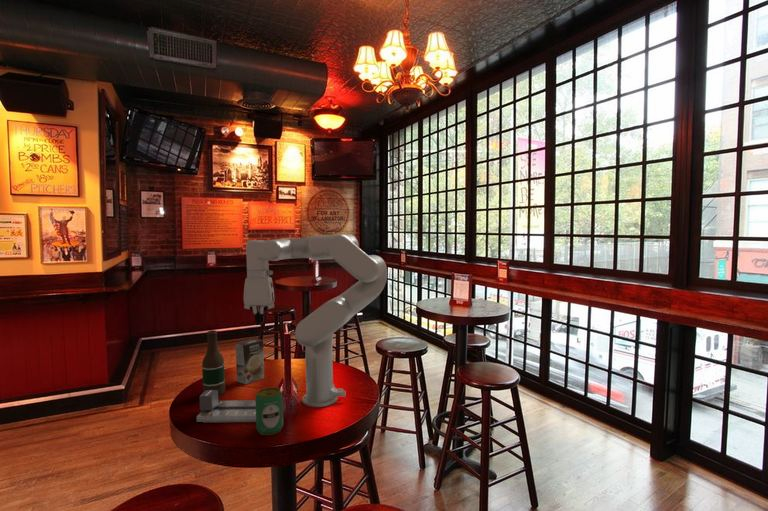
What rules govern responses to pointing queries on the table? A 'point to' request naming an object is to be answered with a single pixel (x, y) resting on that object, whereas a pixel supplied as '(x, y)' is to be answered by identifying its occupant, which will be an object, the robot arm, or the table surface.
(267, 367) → the table surface
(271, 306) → the robot arm
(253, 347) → the coffee box
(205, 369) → the beer bottle
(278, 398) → the beverage can
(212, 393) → the fader cap
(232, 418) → the console
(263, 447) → the table surface
